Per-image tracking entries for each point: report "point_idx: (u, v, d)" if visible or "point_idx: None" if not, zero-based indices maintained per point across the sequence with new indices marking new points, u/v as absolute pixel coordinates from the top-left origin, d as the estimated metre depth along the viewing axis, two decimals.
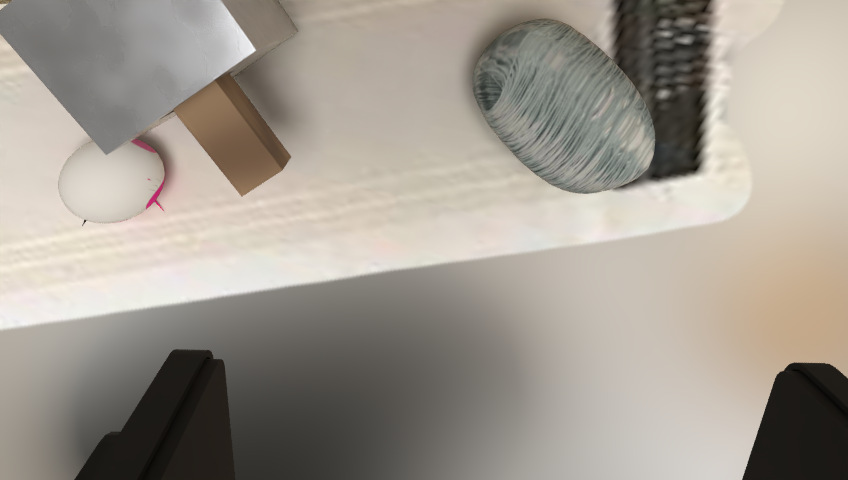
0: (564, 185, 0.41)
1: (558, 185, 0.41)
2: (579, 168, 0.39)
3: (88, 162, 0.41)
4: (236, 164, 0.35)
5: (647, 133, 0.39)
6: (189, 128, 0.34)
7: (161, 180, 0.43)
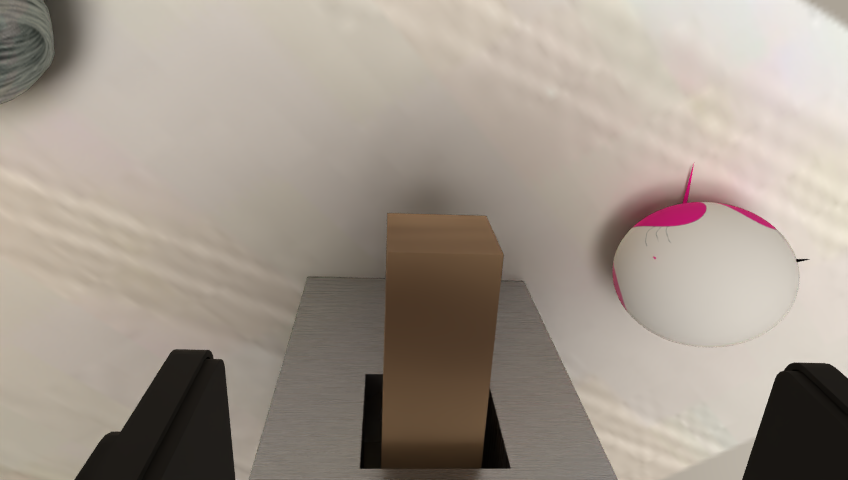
0: None
1: None
2: None
3: (700, 339, 0.24)
4: (461, 313, 0.16)
5: None
6: (484, 407, 0.17)
7: (643, 232, 0.24)
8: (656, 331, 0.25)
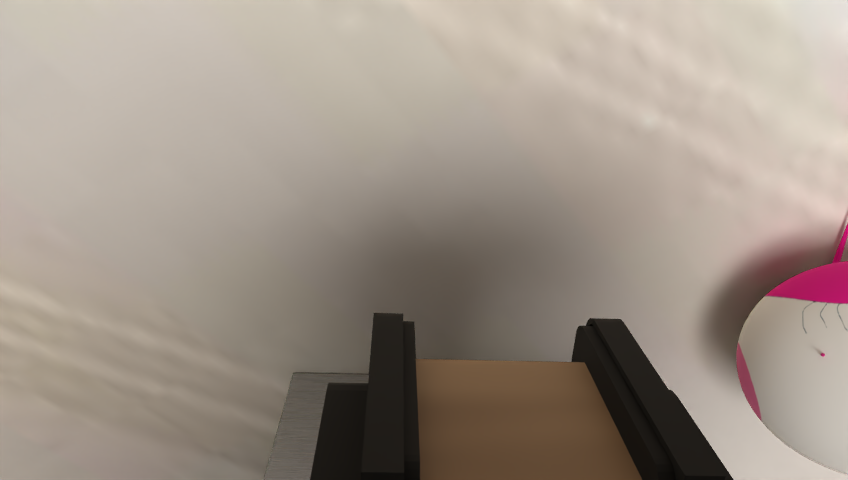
0: None
1: None
2: None
3: None
4: None
5: None
6: None
7: (796, 309, 0.16)
8: (812, 457, 0.16)
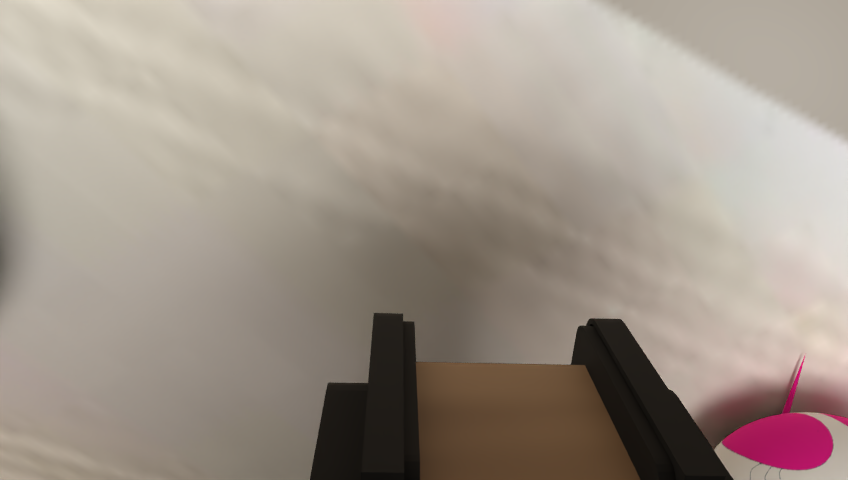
0: None
1: None
2: None
3: None
4: None
5: None
6: None
7: (745, 469, 0.18)
8: None
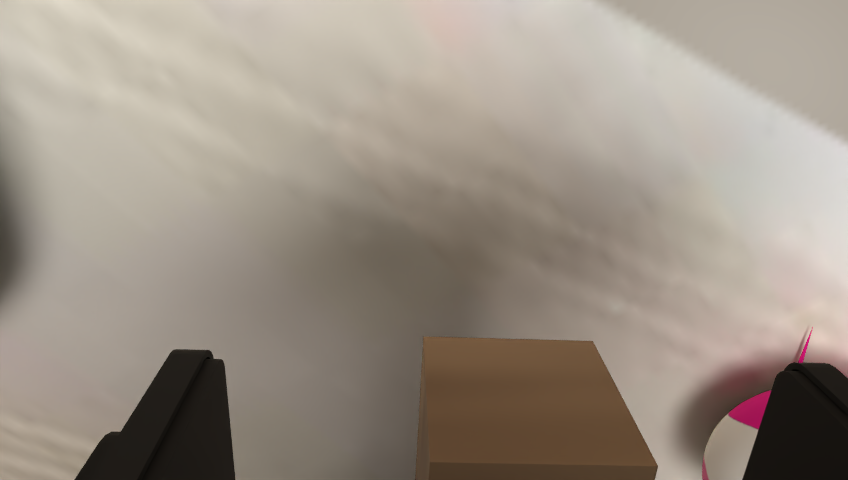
0: None
1: None
2: None
3: None
4: None
5: None
6: None
7: (751, 438, 0.18)
8: None
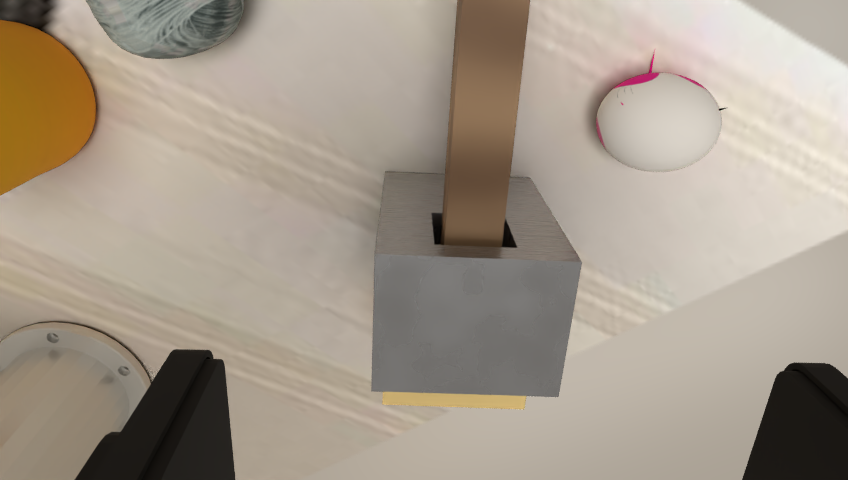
0: None
1: None
2: None
3: (652, 160, 0.36)
4: (506, 18, 0.27)
5: None
6: (517, 88, 0.28)
7: (616, 90, 0.36)
8: (623, 158, 0.37)
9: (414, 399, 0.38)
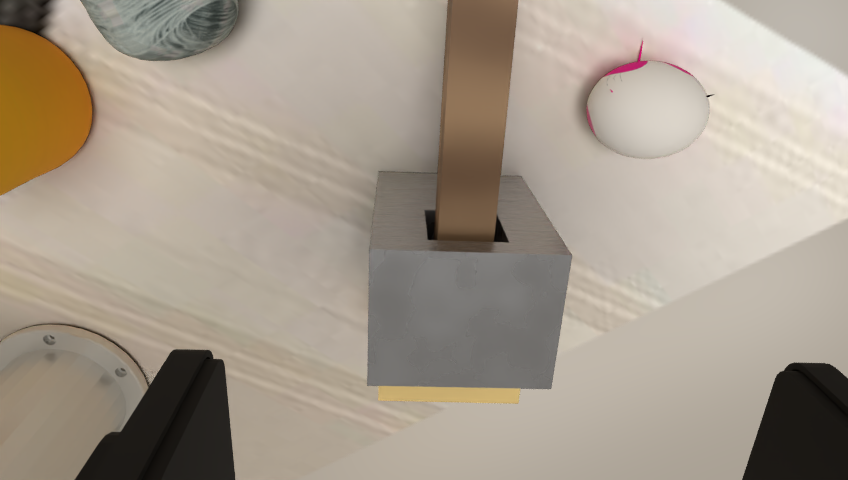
0: None
1: None
2: None
3: (641, 146, 0.36)
4: (495, 18, 0.28)
5: None
6: (507, 86, 0.29)
7: (606, 78, 0.37)
8: (614, 145, 0.37)
9: (409, 395, 0.38)
